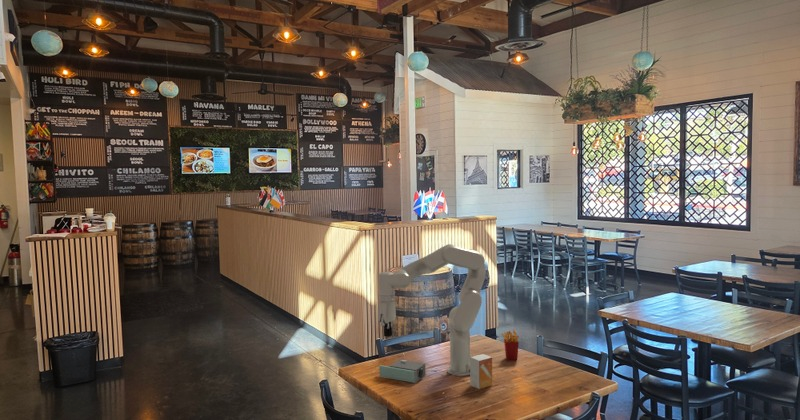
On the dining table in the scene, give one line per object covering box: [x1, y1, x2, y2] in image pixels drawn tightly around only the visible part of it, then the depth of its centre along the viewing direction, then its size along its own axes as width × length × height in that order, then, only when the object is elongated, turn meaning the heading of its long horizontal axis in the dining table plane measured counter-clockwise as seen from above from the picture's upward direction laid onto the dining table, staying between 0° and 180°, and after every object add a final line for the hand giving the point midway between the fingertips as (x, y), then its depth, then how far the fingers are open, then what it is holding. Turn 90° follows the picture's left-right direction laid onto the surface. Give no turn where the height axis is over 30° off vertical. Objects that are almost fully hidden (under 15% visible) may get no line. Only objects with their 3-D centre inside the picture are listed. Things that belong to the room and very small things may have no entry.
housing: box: [389, 358, 427, 384], centre depth 248 cm, size 15×10×7 cm, turn 61°
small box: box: [469, 353, 493, 390], centre depth 236 cm, size 8×6×13 cm
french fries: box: [501, 329, 520, 362], centre depth 271 cm, size 9×8×15 cm
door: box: [378, 364, 417, 384], centre depth 245 cm, size 19×1×5 cm, turn 61°
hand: (387, 335), depth 251 cm, fingers closed
